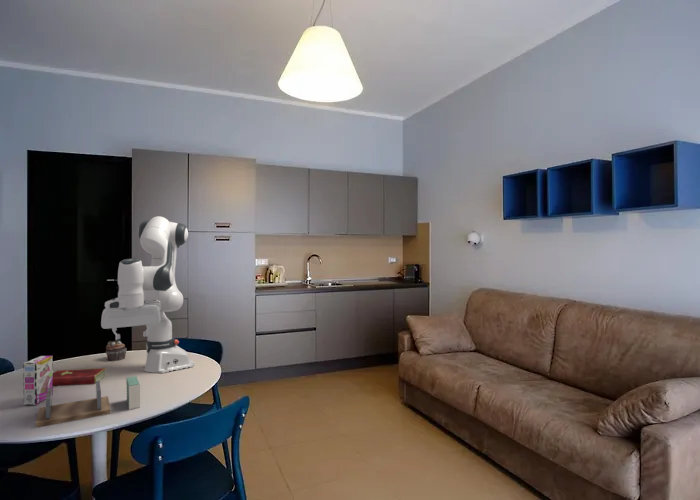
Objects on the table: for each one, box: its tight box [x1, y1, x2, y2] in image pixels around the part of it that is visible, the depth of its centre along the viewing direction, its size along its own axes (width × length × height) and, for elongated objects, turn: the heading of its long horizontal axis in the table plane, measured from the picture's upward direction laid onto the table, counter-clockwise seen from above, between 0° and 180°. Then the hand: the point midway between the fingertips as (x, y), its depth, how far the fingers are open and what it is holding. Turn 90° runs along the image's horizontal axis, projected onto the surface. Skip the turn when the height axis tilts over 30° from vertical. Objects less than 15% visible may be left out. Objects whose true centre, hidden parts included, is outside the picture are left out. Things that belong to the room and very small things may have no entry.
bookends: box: [45, 380, 102, 420], centre depth 160 cm, size 16×13×7 cm
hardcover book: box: [53, 367, 107, 387], centre depth 196 cm, size 12×21×4 cm, turn 99°
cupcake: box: [105, 339, 127, 362], centre depth 231 cm, size 10×10×10 cm
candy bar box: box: [22, 355, 54, 406], centre depth 172 cm, size 11×5×16 cm, turn 5°
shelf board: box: [35, 395, 111, 428], centre depth 160 cm, size 22×16×2 cm
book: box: [125, 375, 141, 410], centre depth 168 cm, size 4×11×9 cm, turn 31°
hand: (131, 337), depth 167 cm, fingers open, 8 cm apart
